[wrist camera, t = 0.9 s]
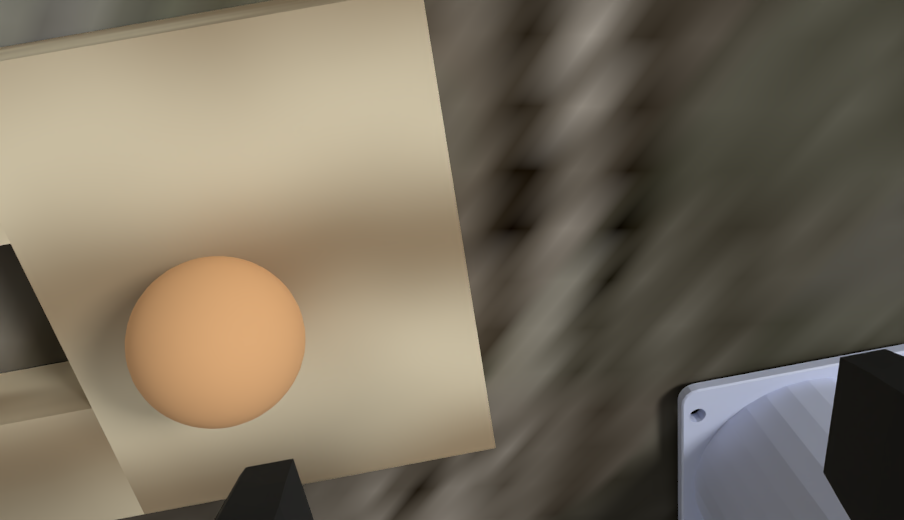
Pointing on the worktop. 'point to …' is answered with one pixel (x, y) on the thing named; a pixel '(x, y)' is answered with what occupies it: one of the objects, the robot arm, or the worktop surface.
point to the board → (235, 246)
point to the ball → (215, 342)
